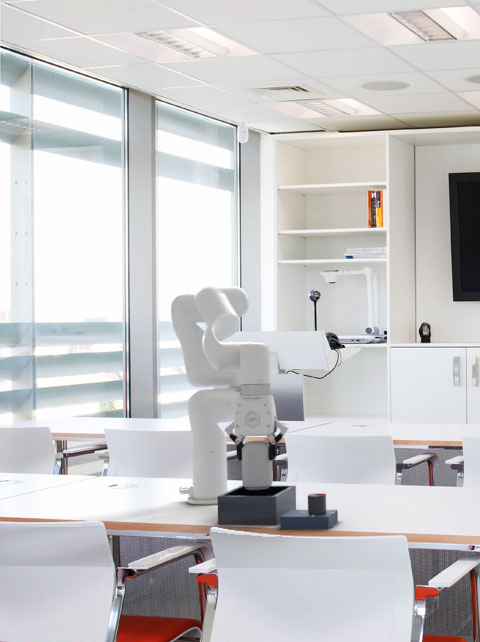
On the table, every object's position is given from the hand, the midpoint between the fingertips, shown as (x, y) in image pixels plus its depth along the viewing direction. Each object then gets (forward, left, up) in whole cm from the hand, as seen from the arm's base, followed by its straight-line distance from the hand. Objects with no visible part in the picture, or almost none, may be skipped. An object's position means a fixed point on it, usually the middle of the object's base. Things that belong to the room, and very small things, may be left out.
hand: (257, 459), depth 254 cm
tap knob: (+18, -9, -12) cm, 23 cm away
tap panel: (+16, -9, -15) cm, 24 cm away
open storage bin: (0, 0, -15) cm, 15 cm away
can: (0, 0, -7) cm, 7 cm away
